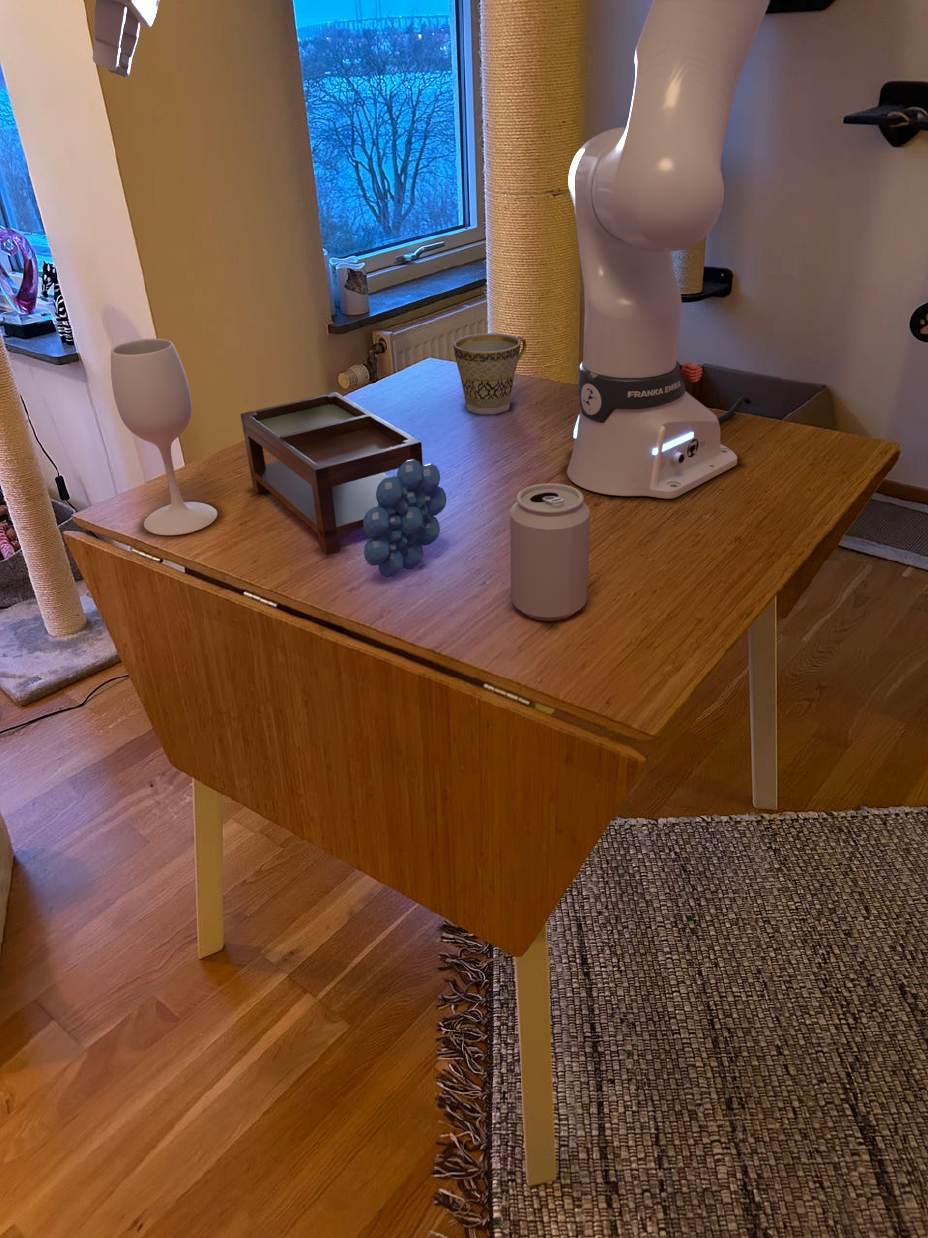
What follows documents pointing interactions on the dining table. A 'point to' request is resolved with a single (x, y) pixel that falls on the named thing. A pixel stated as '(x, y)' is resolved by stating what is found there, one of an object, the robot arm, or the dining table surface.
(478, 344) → the ceramic cup
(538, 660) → the dining table surface
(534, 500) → the can
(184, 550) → the dining table surface
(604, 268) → the robot arm
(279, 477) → the tray
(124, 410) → the wineglass
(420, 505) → the grapes
